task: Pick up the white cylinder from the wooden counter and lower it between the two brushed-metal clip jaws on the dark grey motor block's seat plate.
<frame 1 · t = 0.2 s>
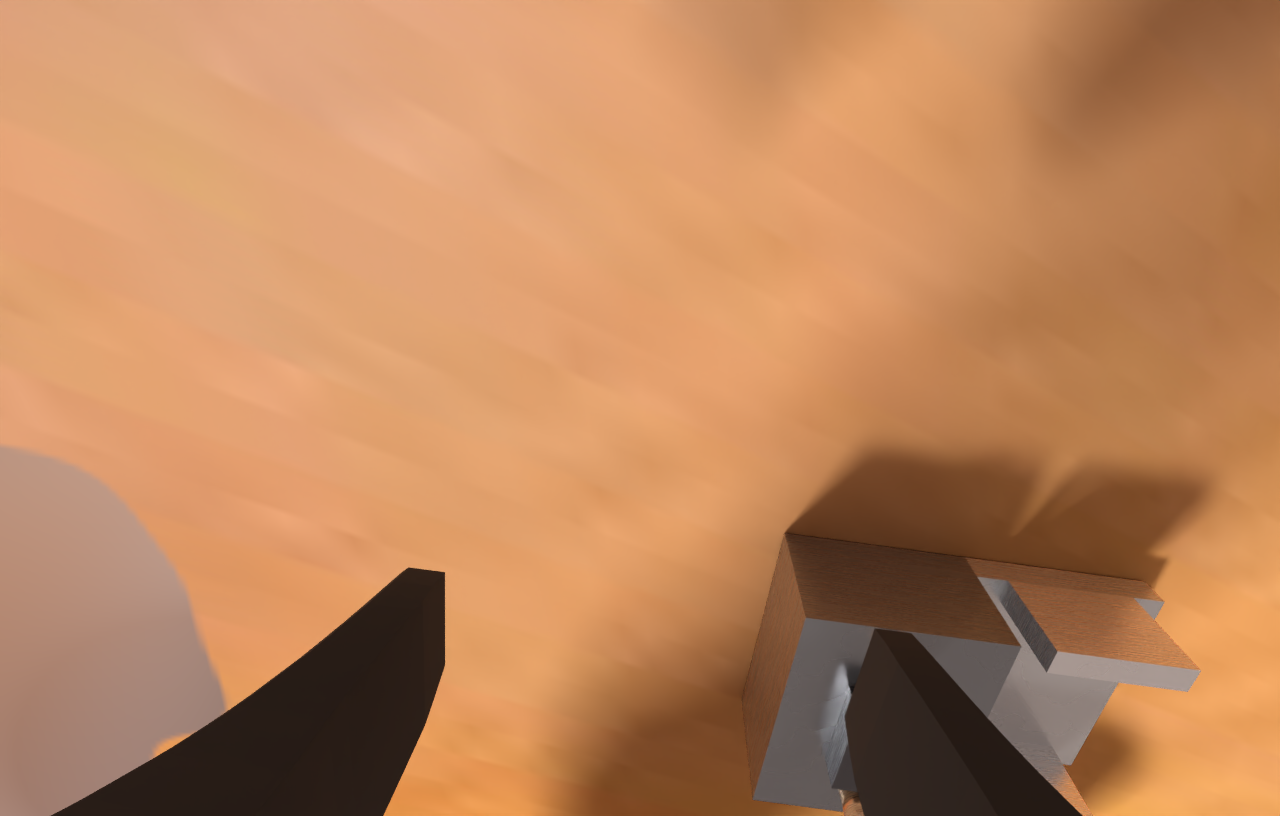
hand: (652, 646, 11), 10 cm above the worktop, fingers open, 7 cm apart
motor: (1013, 655, 24), on the worktop
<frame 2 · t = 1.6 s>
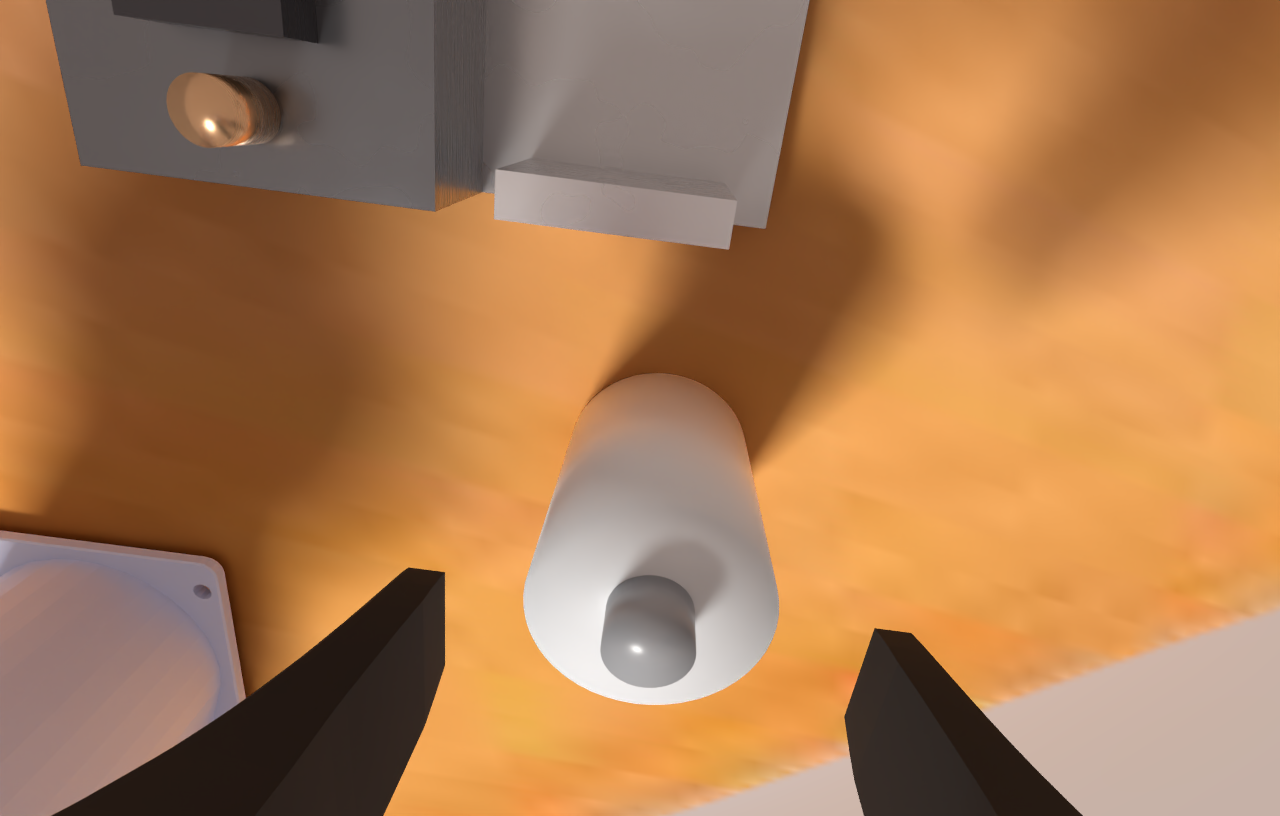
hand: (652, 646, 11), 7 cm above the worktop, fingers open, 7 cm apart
white cylinder: (657, 454, 17), on the worktop
motor: (648, 9, 13), on the worktop
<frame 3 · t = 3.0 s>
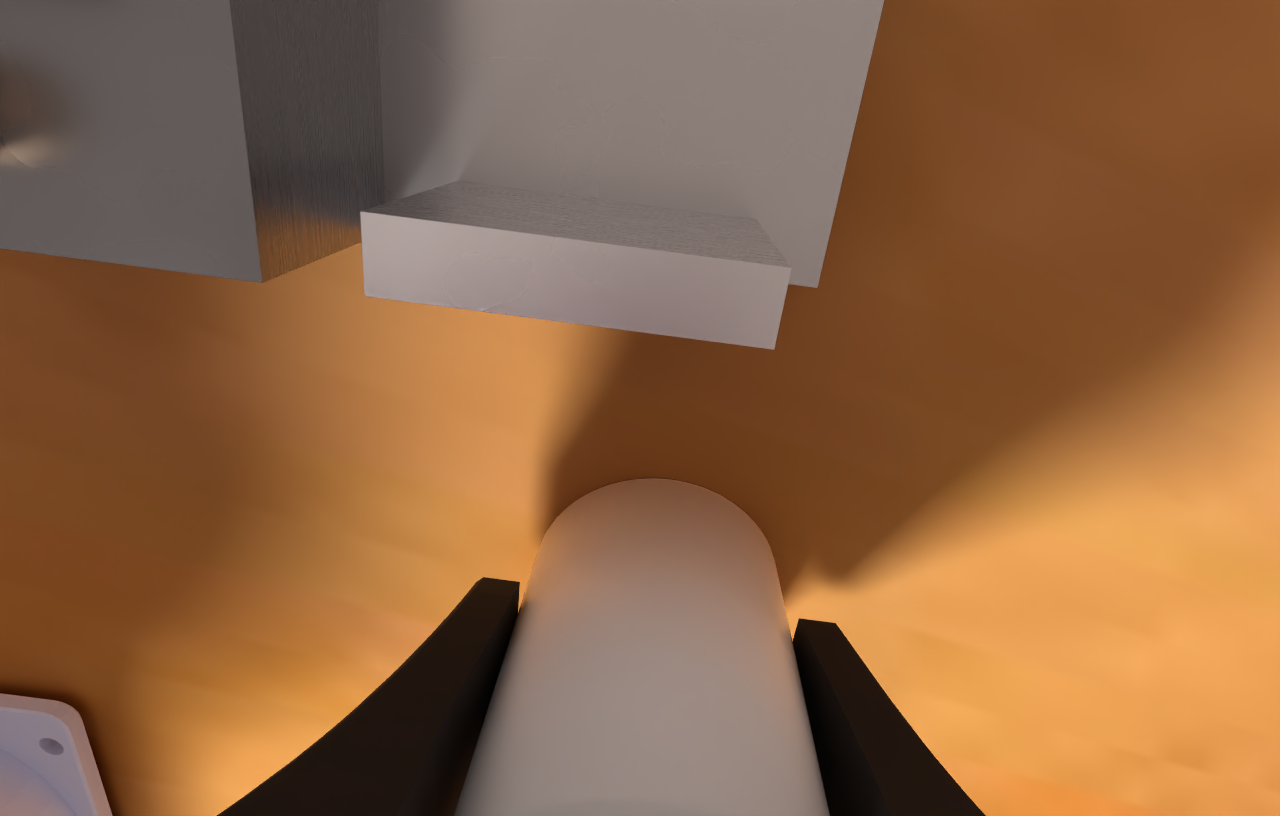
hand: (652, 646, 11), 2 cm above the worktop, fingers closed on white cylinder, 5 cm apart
white cylinder: (654, 583, 13), on the worktop, touching gripper
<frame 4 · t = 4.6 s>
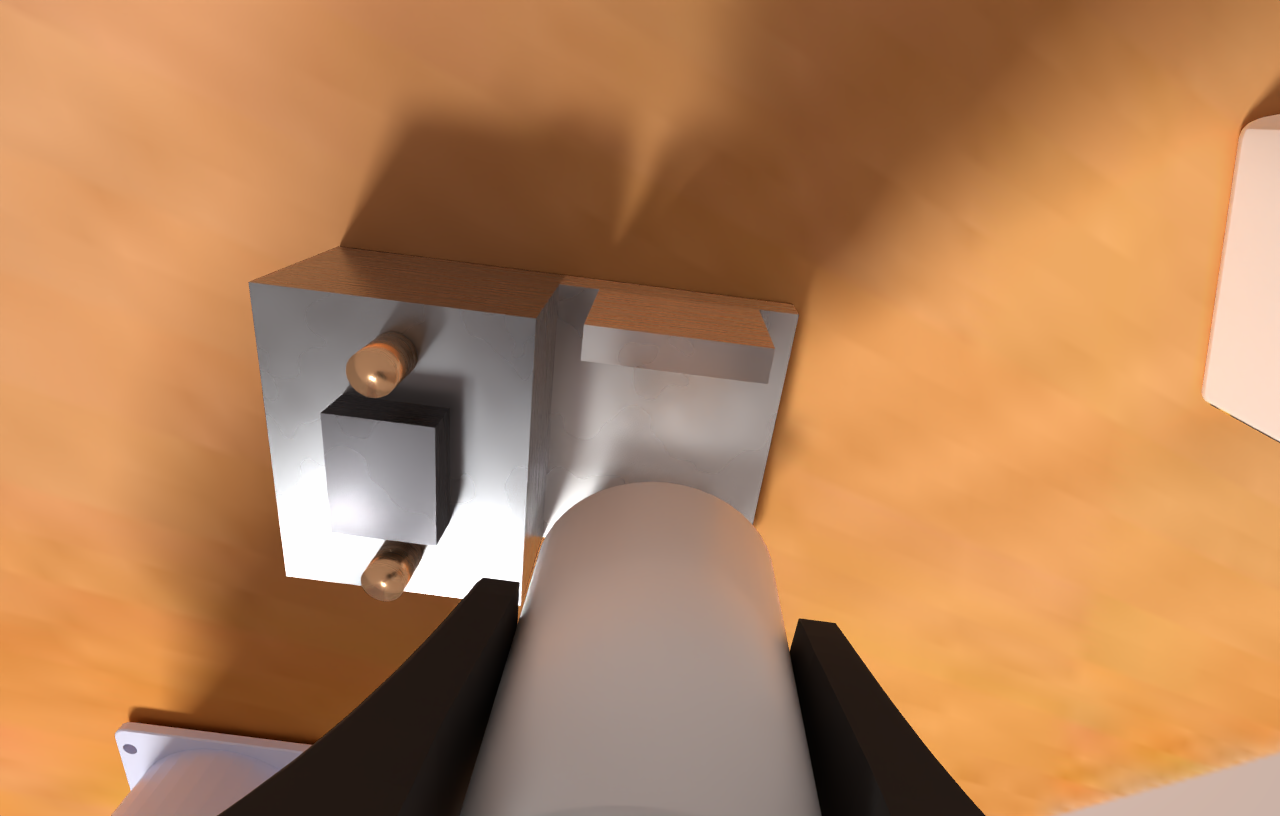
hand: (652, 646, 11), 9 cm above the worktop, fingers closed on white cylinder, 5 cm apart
white cylinder: (654, 583, 13), point 7 cm above the worktop, touching gripper
motor: (660, 419, 19), on the worktop
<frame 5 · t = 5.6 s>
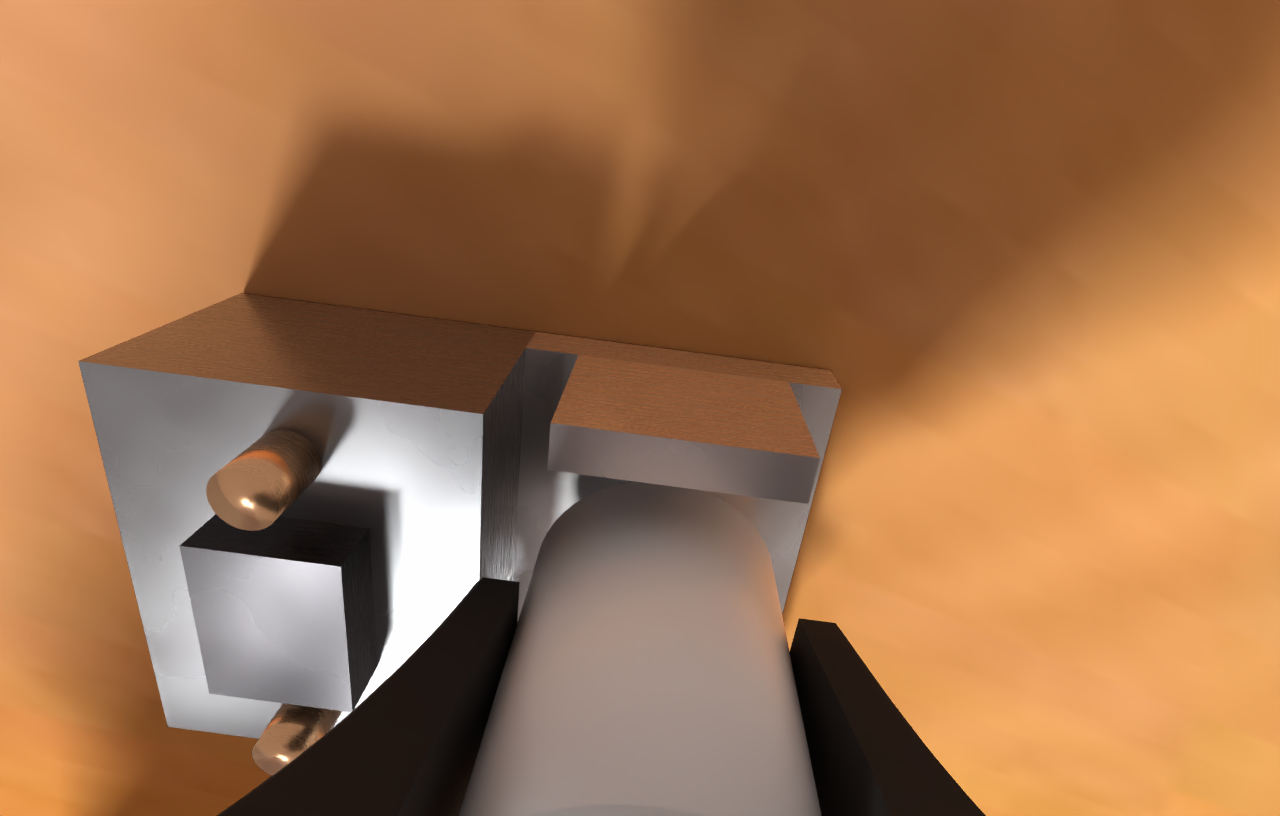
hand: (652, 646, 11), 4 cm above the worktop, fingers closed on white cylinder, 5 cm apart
white cylinder: (653, 582, 13), point 2 cm above the worktop, touching gripper
motor: (658, 509, 15), on the worktop
when the fingers open (4 cm above the worktop, at t = 6.3 s): white cylinder drops 1 cm, resting on motor.
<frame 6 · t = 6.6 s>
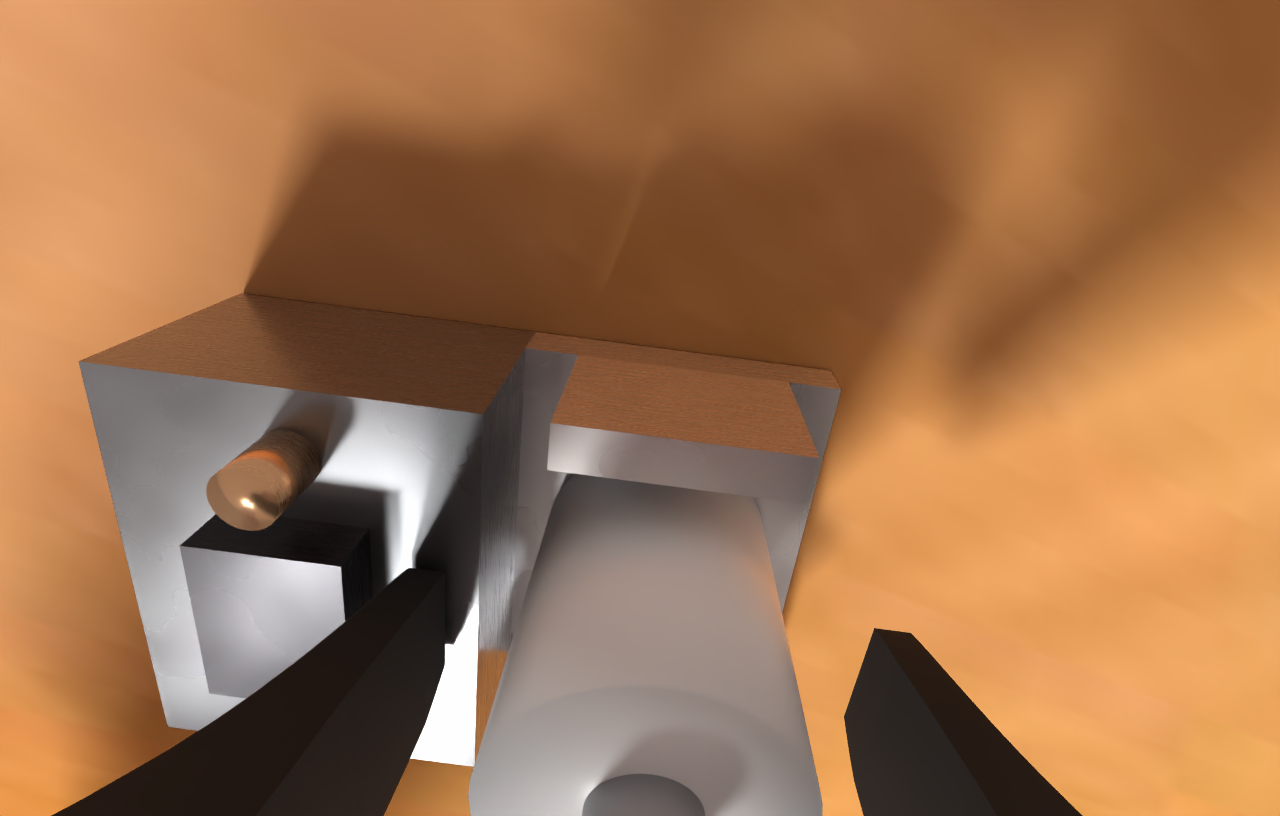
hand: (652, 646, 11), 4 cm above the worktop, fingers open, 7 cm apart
white cylinder: (654, 541, 14), point 1 cm above the worktop, touching motor
motor: (658, 509, 15), on the worktop
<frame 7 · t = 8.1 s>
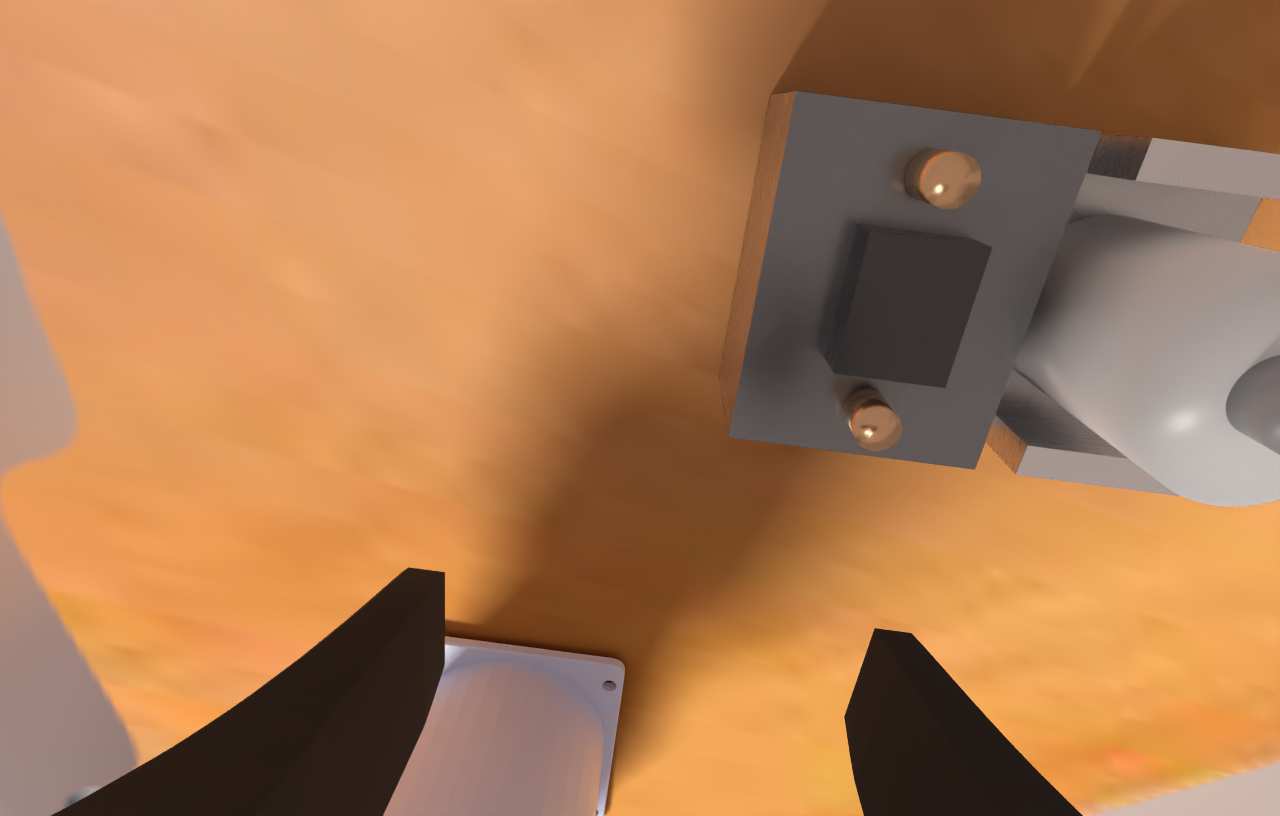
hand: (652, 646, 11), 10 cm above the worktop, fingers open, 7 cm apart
white cylinder: (1086, 306, 17), point 1 cm above the worktop, touching motor
motor: (1069, 290, 18), on the worktop
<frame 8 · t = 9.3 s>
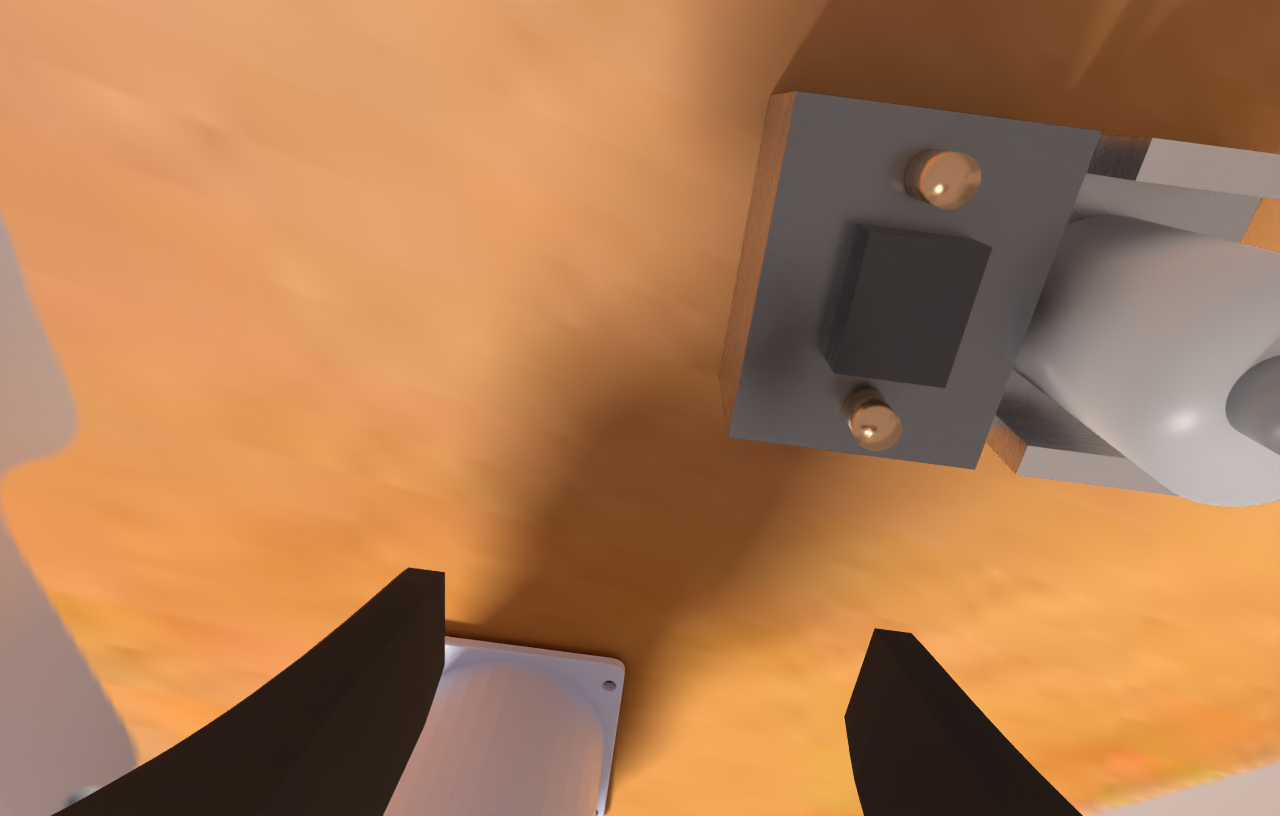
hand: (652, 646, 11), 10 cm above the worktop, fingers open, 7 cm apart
white cylinder: (1086, 306, 17), point 1 cm above the worktop, touching motor
motor: (1069, 291, 18), on the worktop
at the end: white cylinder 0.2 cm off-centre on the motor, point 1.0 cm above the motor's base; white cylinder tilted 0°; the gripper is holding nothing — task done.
